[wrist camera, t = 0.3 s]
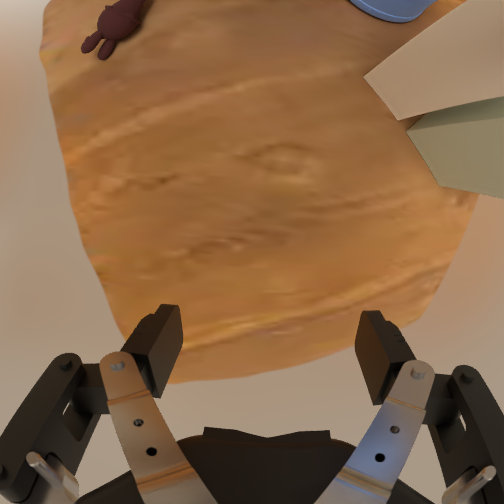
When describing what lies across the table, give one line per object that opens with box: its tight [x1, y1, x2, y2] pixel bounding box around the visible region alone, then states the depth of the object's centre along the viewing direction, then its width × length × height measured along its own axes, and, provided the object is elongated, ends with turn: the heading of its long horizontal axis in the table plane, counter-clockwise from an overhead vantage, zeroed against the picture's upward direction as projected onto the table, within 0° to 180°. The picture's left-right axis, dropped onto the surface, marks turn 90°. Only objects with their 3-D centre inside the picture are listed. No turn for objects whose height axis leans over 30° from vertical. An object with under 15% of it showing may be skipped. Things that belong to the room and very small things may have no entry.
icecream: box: [81, 0, 145, 60], centre depth 27 cm, size 7×7×15 cm
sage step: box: [406, 96, 504, 199], centre depth 24 cm, size 10×10×21 cm
